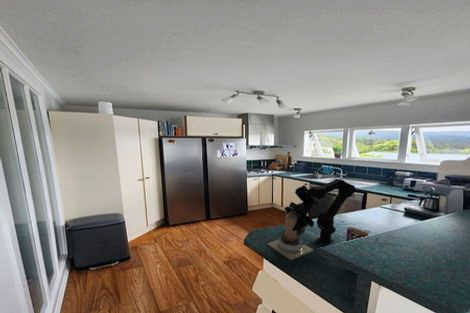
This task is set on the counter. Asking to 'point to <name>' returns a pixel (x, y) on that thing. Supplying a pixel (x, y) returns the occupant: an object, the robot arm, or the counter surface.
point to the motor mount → (290, 247)
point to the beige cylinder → (290, 227)
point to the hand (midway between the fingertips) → (288, 228)
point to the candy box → (355, 233)
